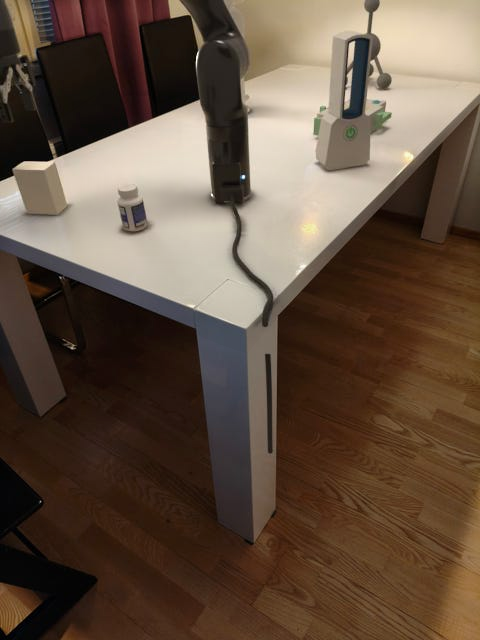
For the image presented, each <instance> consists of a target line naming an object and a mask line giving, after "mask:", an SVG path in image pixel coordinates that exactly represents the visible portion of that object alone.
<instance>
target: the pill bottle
mask: <svg viewBox="0 0 480 640" xmlns="http://www.w3.org/2000/svg"><path fill="white" fill-rule="evenodd" d="M117 193H118V196H119V197H118V199H117V206H118V210H119V211H118V212H119V215H120V219H121V224H122V227H123V229H124V230H125V231H128V232H138V231H141V230H144V229H146V227H147V226H148V217H147V214H146V208H145V203H144V198H143V196H142V195H141V194H139V188H138V185H137V184H135V183H132V182H131V183H123V184H121V185H119V186H118V187H117Z"/></svg>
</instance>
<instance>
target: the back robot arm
mask: <svg viewBox="0 0 480 640" xmlns="http://www.w3.org/2000/svg"><path fill="white" fill-rule="evenodd" d="M246 1H247V0H224V2H225V4H226V6H227V8H228V10H229V12H230V14H231V16H232V18H233V20H234V22H235V24H236V25H237V27H238V29H239V31H240V33H241V35H242V37H243V39H244V40H245V33H246V22H245V17H244V15H243V13H242V12H241V11H240V9H238V8H237V7H235V6H238V5H241V4H243V3H245V2H246ZM199 35H200V36H201V34H200V33H199ZM245 84H246V83H245V76H244V77H243V78H242V79H241V95H242V102H243V104H245V105H246V107H247V109H248V113H249V112H250V111H251V107H250V106H249V105H248V104H246V102H247V101H248V100H250V96H249V94H247V93H246V87H245Z"/></svg>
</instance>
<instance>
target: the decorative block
mask: <svg viewBox="0 0 480 640" xmlns="http://www.w3.org/2000/svg"><path fill="white" fill-rule="evenodd" d="M349 105H350V98H349V99H347V100H345V103H344V110H345V109H347V108H349ZM386 107H387V101H386V100H379V99H369V98H367V99H366V109H365V114H366V115H367V116H368V117H369V118H370V119H371V129H370V134H371V133H373V132H375V130H377V131H378V130H381V129H382V124H383V123H385V122H387V121H388V120H389V119H391V118H392V115H393V114H392V113H393V112H392V111H386ZM328 110H329V106H328V107H327V106H326V105H321V106H320V107H319V112H318V113H316V117H314V118H313V119H314V120H313V135H314V136H318V135H319V129H320V124H321V119H322V117H323V116H324V115H325V114H326V113H327V112H328Z"/></svg>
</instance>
